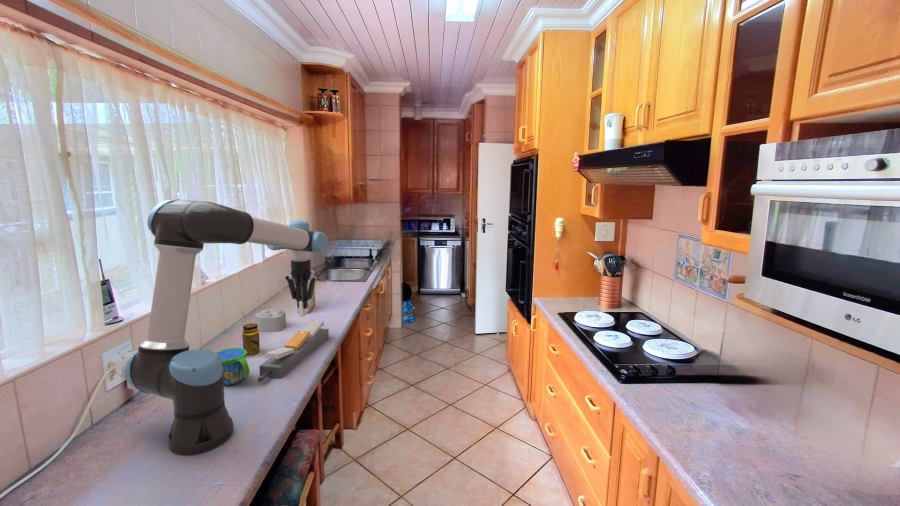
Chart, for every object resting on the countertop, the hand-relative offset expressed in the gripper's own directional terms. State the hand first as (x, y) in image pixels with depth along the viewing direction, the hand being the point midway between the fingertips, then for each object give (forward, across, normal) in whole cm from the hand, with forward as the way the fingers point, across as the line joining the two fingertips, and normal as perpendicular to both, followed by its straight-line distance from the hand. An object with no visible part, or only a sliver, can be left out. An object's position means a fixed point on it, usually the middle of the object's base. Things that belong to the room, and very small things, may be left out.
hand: (302, 315), depth 167 cm
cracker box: (+16, +24, -50) cm, 58 cm away
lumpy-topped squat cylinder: (+15, +28, -20) cm, 37 cm away
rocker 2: (+9, 0, +5) cm, 10 cm away
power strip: (+15, 0, +8) cm, 17 cm away
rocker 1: (+9, 0, +18) cm, 20 cm away
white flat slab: (+9, 0, -8) cm, 12 cm away
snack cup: (+15, +12, +30) cm, 35 cm away
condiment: (+15, +20, +8) cm, 26 cm away
